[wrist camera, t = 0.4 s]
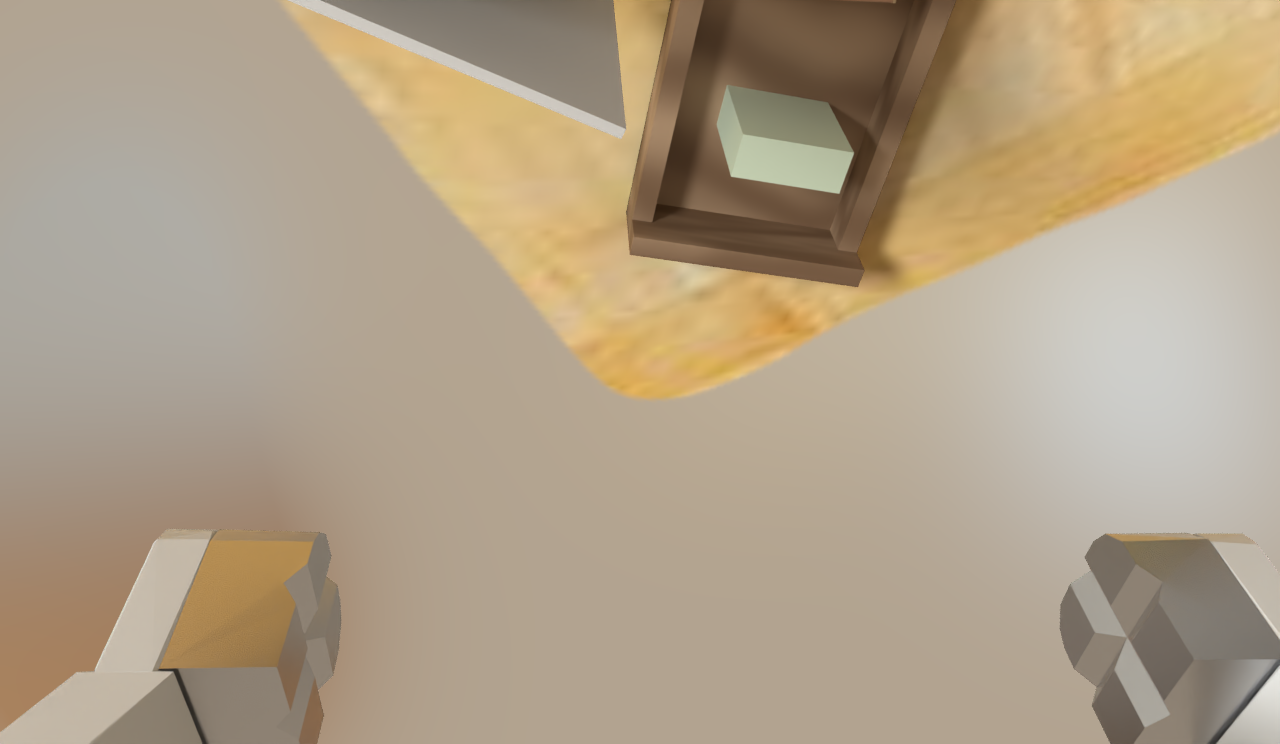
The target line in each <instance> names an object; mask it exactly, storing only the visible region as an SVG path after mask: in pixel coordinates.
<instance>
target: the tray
mask: <svg viewBox="0 0 1280 744" xmlns="http://www.w3.org/2000/svg"><path fill="white" fill-rule="evenodd" d="M955 2H956V0H896V3H890V2H866V1H843V0H671V4H670V9H669V14H668V18H667V23H666V28H665V32H664V37H663V42H662V47H661V51H660V56H659V61H658V65H657V70H656V75H655V80H654V84H653V89H652V94H651V98H650V103H649V108H648V112H647V117H646V122H645V127H644V131H643V136H642V141H641V145H640V150H639V155H638V159H637V164H636V169H635V174H634V178H633V183H632V188H631V192H630V197H629V202H628V207H627V211H626V214H627V226H628V238H629V249H630V255H636V256H643V257H650V258H657V259H664V260H671V261H678V262H685V263H692V264H699V265H706V266H713V267H720V268H727V269H734V270H741V271H748V272H755V273H762V274H769V275H776V276H783V277H790V278H797V279H804V280H811V281H818V282H826V283H833V284H840V285H847V286H854V287H858V285H859V283H860V280H861V278H862V276H863V273H864V271H865V270H864V268H863V266H862V264H861V261H860V259H859V257H858V254H857V251H858V248H859V246H860V243H861V241H862V238H863V236H864V233H865V231H866V228H867V225H868V223H869V220H870V218H871V215H872V213H873V210H874V208H875V205H876V203H877V200H878V198H879V195H880V192H881V190H882V187H883V185H884V182H885V180H886V177H887V175H888V172H889V170H890V167H891V165H892V162H893V160H894V157H895V154H896V152H897V149H898V147H899V144H900V142H901V139H902V137H903V134H904V132H905V129H906V127H907V124H908V122H909V119H910V116H911V114H912V111H913V109H914V106H915V104H916V101H917V99H918V96H919V94H920V91H921V89H922V86H923V83H924V81H925V78H926V76H927V73H928V71H929V68H930V66H931V63H932V61H933V58H934V56H935V53H936V51H937V48H938V45H939V43H940V40H941V38H942V35H943V33H944V30H945V28H946V25H947V23H948V20H949V18H950V15H951V12H952V10H953V7H954V5H955ZM727 85H731V86H737V87H742V88H748V89H754V90H759V91H765V92H771V93H777V94H782V95H788V96H794V97H799V98H805V99H811V100H816V101H822V102H828V104H829V106H830V107H831V109H832V111H833V113H834V115H835V117H836V119H837V121H838V123H839V125H840V127H841V129H842V130H843V132H844V134H845V136H846V138H847V140H848V142H849V144H850V146H851V148H852V150H853V152H854V155H853V157H852V160H851V163H850V166H849V168H848V171H847V174H846V176H845V179H844V182H843V185H842V187H841V190H840V193H839V194H838V193H831V192H825V191H819V190H812V189H806V188H800V187H793V186H787V185H781V184H775V183H768V182H762V181H756V180H749V179H743V178H737V177H731V175H730V171H729V167H728V164H727V160H726V157H725V153H724V149H723V146H722V142H721V139H720V135H719V132H718V128H717V121H718V117H719V113H720V109H721V106H722V102H723V98H724V94H725V90H726V87H727Z"/></svg>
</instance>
